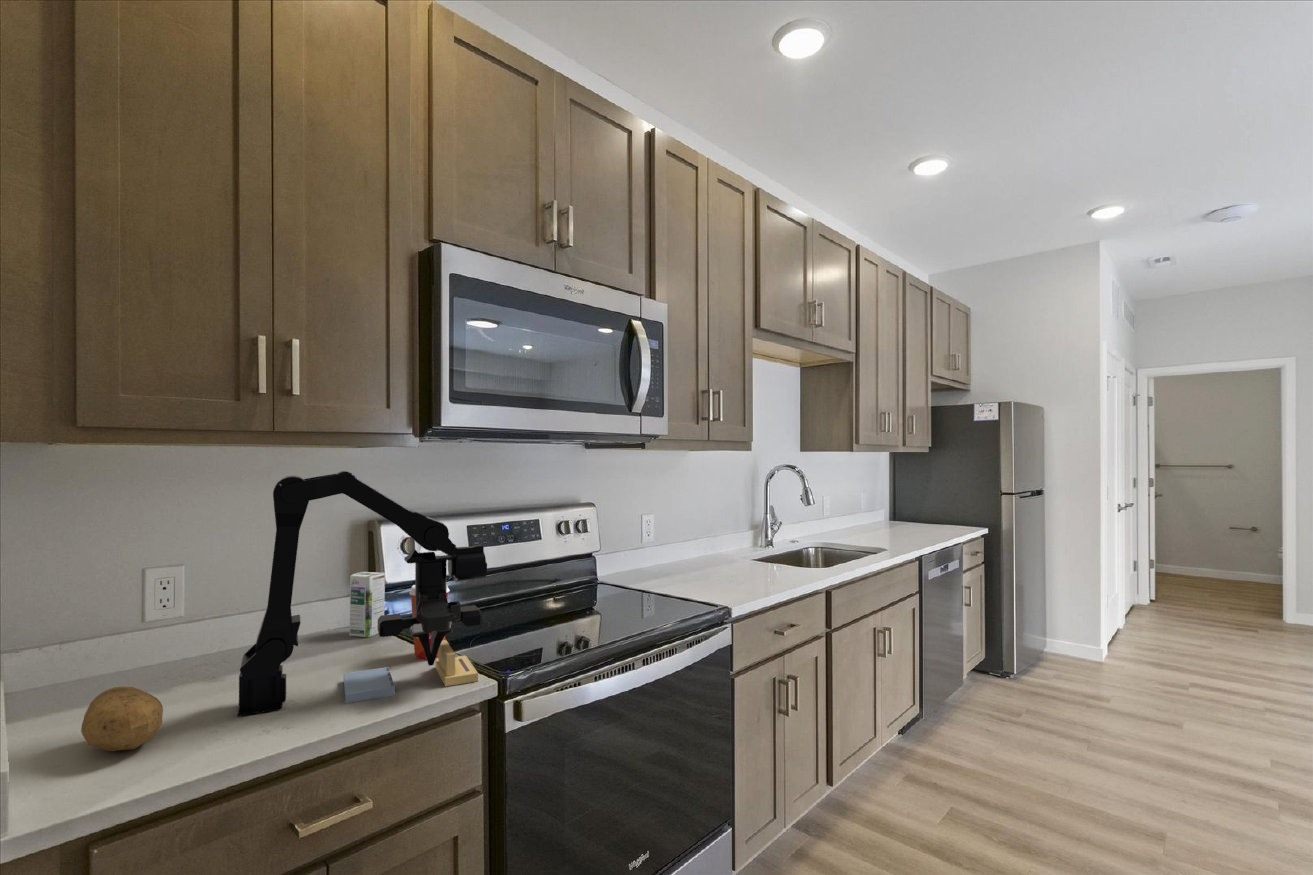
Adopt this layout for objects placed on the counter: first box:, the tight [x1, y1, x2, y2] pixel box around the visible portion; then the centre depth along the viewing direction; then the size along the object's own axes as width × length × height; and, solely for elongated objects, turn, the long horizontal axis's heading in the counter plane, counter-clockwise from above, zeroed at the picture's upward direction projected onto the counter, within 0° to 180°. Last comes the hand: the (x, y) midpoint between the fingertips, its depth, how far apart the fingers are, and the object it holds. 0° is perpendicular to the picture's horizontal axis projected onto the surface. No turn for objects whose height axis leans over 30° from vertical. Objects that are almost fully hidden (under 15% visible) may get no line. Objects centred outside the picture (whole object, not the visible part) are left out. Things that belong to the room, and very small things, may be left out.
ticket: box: [343, 666, 396, 704], centre depth 121 cm, size 8×12×2 cm, turn 27°
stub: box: [434, 639, 479, 687], centre depth 128 cm, size 6×12×6 cm, turn 27°
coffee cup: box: [408, 582, 451, 660], centre depth 140 cm, size 8×8×15 cm
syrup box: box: [348, 571, 386, 638], centre depth 157 cm, size 6×6×14 cm
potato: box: [80, 686, 164, 752], centre depth 97 cm, size 10×14×8 cm
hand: (430, 664), depth 126 cm, fingers closed
